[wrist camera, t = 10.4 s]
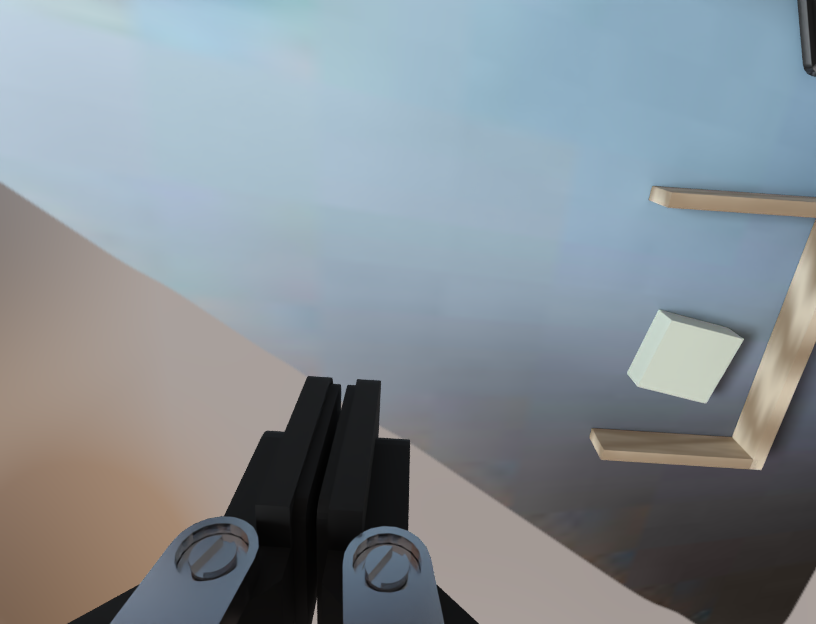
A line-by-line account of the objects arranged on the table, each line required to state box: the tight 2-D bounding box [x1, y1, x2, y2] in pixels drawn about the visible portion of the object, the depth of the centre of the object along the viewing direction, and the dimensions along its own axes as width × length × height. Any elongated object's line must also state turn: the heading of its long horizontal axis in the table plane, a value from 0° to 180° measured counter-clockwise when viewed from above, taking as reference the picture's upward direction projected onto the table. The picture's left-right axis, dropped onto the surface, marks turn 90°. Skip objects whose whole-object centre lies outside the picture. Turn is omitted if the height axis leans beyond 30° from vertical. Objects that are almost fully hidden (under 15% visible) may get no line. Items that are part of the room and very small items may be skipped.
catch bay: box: [590, 186, 816, 470], centre depth 38 cm, size 22×14×3 cm, turn 176°
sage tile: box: [627, 310, 744, 403], centre depth 40 cm, size 6×6×2 cm
